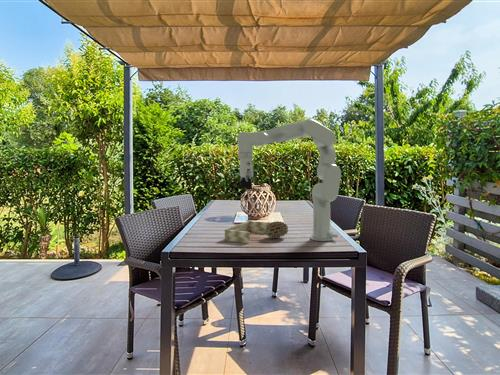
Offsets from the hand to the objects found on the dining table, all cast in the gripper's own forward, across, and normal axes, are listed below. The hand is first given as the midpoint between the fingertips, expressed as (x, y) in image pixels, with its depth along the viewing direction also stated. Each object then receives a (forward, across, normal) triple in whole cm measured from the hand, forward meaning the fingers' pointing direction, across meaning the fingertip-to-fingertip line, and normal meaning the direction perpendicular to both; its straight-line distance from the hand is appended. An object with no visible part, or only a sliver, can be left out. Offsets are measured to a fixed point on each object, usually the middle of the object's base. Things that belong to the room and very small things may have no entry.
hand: (246, 188), depth 172 cm
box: (+30, +16, -6) cm, 35 cm away
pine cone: (+30, +7, -15) cm, 35 cm away
